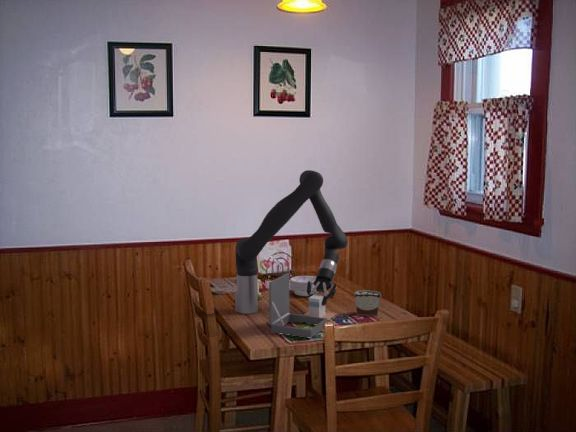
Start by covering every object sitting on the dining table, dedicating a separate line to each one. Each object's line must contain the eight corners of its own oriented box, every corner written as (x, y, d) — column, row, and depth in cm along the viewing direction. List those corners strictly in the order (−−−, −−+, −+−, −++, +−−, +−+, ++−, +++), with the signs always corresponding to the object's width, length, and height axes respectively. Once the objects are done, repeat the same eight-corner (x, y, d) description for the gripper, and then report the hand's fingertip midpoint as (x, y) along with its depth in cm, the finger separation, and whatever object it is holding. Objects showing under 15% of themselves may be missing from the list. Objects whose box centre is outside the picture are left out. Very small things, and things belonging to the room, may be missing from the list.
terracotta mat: (295, 320, 282) (295, 319, 282) (310, 310, 296) (310, 310, 296) (323, 324, 276) (323, 323, 276) (337, 314, 291) (337, 313, 291)
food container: (380, 311, 295) (381, 290, 294) (381, 315, 289) (381, 293, 288) (353, 310, 296) (353, 289, 295) (353, 314, 290) (353, 293, 289)
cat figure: (266, 302, 315) (265, 285, 339) (266, 285, 313) (265, 269, 337) (246, 302, 314) (245, 285, 338) (245, 285, 312) (245, 269, 336)
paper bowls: (302, 288, 335) (302, 273, 334) (326, 293, 326) (326, 278, 324) (283, 294, 324) (283, 279, 322) (307, 300, 314) (308, 284, 313)
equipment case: (269, 332, 266) (269, 282, 263) (287, 320, 282) (287, 273, 278) (311, 339, 258) (311, 287, 255) (327, 326, 274) (327, 277, 271)
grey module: (307, 318, 284) (308, 298, 283) (314, 313, 291) (314, 294, 289) (319, 319, 282) (319, 299, 280) (325, 315, 288) (325, 295, 287)
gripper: (309, 265, 294) (299, 297, 285) (339, 268, 288) (329, 301, 279) (314, 274, 300) (303, 306, 291) (343, 277, 294) (334, 310, 285)
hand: (316, 304), depth 285 cm, fingers open, 5 cm apart
